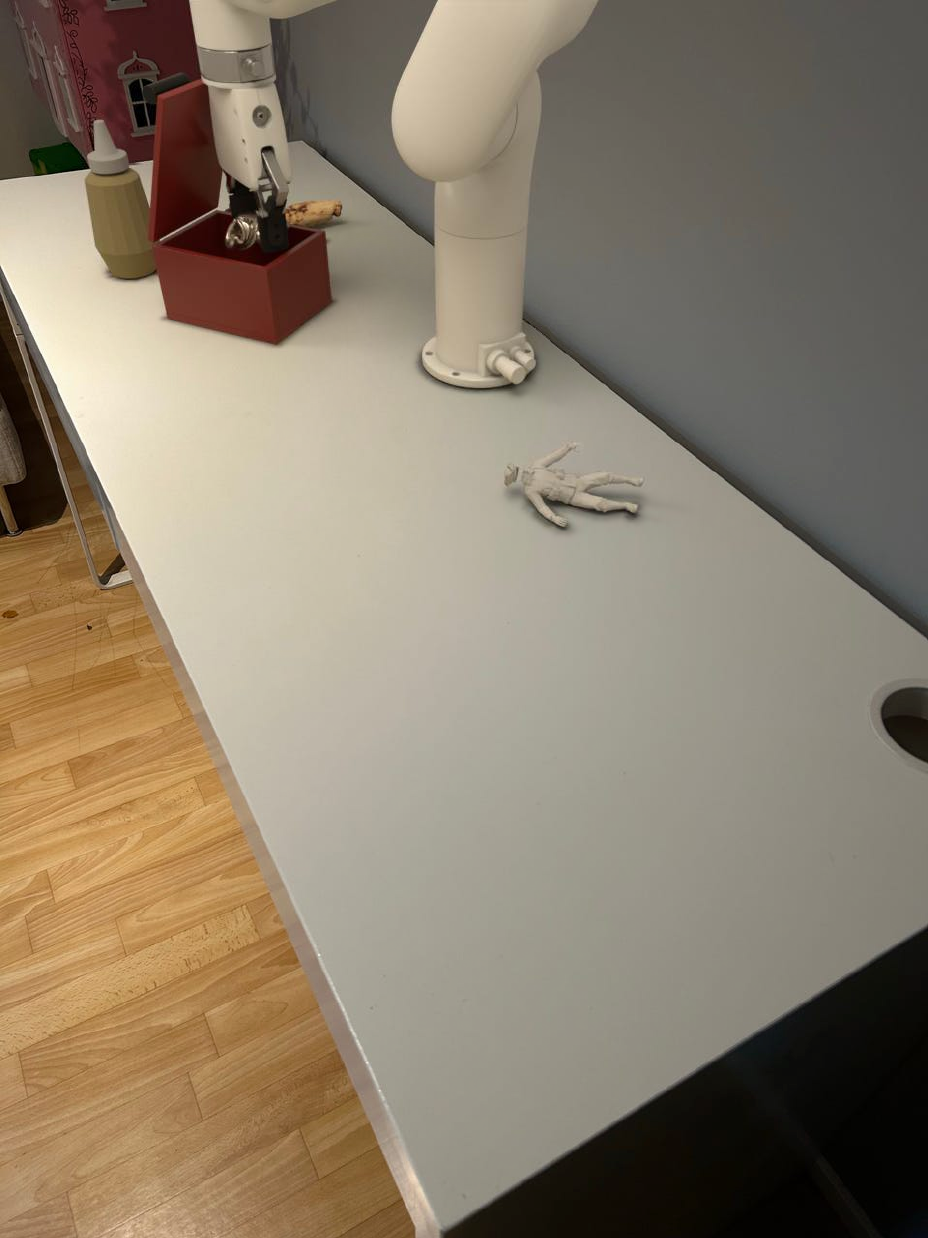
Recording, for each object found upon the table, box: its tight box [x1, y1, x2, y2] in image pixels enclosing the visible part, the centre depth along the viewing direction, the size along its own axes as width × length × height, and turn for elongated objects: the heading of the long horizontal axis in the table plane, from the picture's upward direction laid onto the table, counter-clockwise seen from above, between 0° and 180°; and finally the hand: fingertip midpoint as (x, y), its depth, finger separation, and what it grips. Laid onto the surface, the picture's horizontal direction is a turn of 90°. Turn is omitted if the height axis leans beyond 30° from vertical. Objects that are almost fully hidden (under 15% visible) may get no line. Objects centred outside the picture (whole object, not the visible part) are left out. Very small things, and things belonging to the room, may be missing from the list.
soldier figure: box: [503, 440, 645, 527], centre depth 85 cm, size 8×5×12 cm
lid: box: [141, 72, 224, 243], centre depth 105 cm, size 16×13×5 cm
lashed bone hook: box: [224, 199, 343, 228], centre depth 130 cm, size 9×5×18 cm
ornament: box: [225, 210, 290, 250], centre depth 107 cm, size 8×7×4 cm
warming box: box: [152, 209, 333, 346], centre depth 112 cm, size 16×13×9 cm
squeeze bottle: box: [84, 119, 161, 279], centre depth 117 cm, size 8×8×18 cm
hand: (261, 237), depth 107 cm, fingers closed on ornament, 6 cm apart
